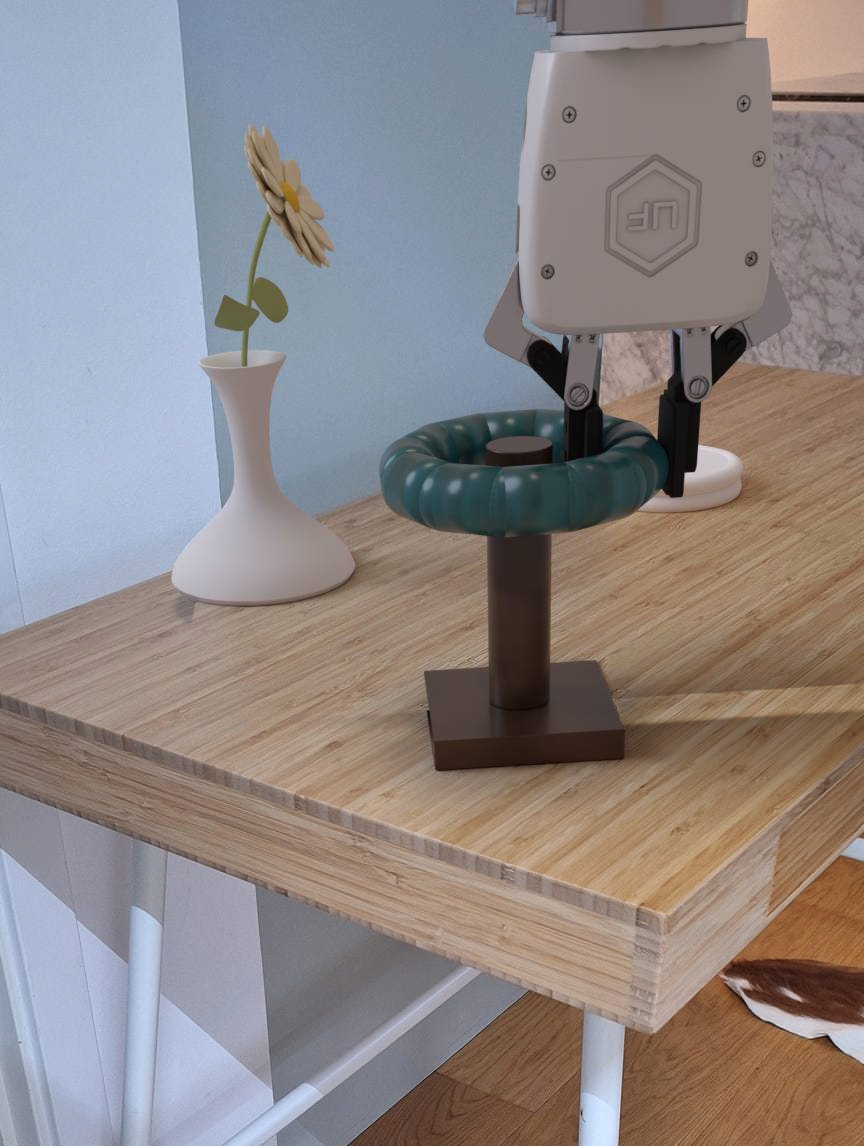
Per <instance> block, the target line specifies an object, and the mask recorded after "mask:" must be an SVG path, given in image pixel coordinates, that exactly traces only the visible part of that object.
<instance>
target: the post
mask: <svg viewBox="0 0 864 1146" xmlns="http://www.w3.org/2000/svg"><path fill="white" fill-rule="evenodd" d="M539 464H553V443H552V442H551V441H550V440H548V439H545V438H541V437H533V436H515V437H506V438H500V439H497V440H493V441H491V442H489V443H488V444H487V445H486V466H497V467H511V466H525V465H539ZM552 542H553V534H543V535H529V536H515V537H492V536H486V562H487V563H486V576H487V577H486V578H487V581H486V582H487V642H488V643H487V645H488V647H487V651H488V653H487V655H488V657H487V659H488V663H487V664H488V666H480V667H478V666H477V667H465V668H464V667H463V668H451V669H450V668H447V669H446V668H445V669H433V670H431V669H430V670H423V678H424V684H425V691H426V698H427V706H428V709H426V715H427V716H426V717H427V721H428V722H427V723H428V730H429V737H430V745H431V750H432V751H431V752H432V758H433V764H434V770H435V771H445V770H461V769H473V768H474V769H475V768H476V769H477V768H478V769H479V768H491V767H508V766H509V767H510V766H525V765H538V764H539V765H540V764H541V765H542V764H556V763H569V762H570V763H571V762H573V763H574V762H587V761H602V760H603V761H604V760H619V759H624V757H625V740H626V739H625V737H626V736H625V735H626V729H625V726H624V724H623V722H622V719H621V716H620V715H619V712H618V710H617V707H616V704H615V703H614V700H613V697H612V695H611V693H610V690H609V687H608V686H607V683H606V680H605V678H604V676H603V674H602V671H601V669H600V666H599V664H598V661H597V659H591V660H590V659H589V660H588V659H587V660H574V661H557V662H556V661H555V662H551V640H552V639H551V633H552V632H551V631H552V630H551V628H552V623H551V622H552V555H553V554H552V552H553V549H552V548H553V547H552V546H553V543H552Z"/></svg>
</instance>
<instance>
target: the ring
mask: <svg viewBox="0 0 864 1146" xmlns="http://www.w3.org/2000/svg"><path fill="white" fill-rule="evenodd" d="M515 436H533V437H541V438H545V439H548V440H550V441H551V442H552V443H553V464H539V465H525V466H511V467H497V466H486V445H487V444H488V443H489V442H491V441H493V440H497V439H500V438H506V437H515ZM563 445H564V409H548V408H531V409H519V410H517V409H516V410H504V411H503V410H502V411H491V412H478V413H473V414H469V415H464V416H460V417H459V416H458V417H455V418H450V419H445V420H441V421H435V422H431V423H427V424H425V425H423V426H421V427H419V428H417V429H415V430H413V431H411V432H409V433H407V434H406V435H404V436H402V437H400V438H398V439H396V440H395V441H393V442H391V443H390V445H388V446H387V447H386V448H385V450H384V452H383V453H382V454H381V455H382V456H381V457H380V461H379V467H378V473H379V481H380V489H381V495H382V498H383V500H384V502H385V504H386V505H387V507H388V508H389V509H390V510H391V512H392V513H394V514H395V515H397V516H399V517H401V518H404V519H406V520H409V521H411V522H414V523H416V524H419V525H422V526H424V527H426V528H428V529H432V530H433V531H434V530H435V531H437V532H442V533H452V534H460V535H461V534H462V535H471V536H473V535H474V536H482V537H487V536H492V537H515V536H529V535H543V534H552V535H554V534H555V535H556V534H567V533H568V534H569V533H574V532H579V531H582V530H585V529H589V528H593V527H596V526H600V525H604V524H609V523H612V522H615V521H620V520H622V519H625V518H627V517H630V516H632V515H633V514H635V513H636V512H638V511H637V510H638V509H639V508H640V507H642V506H643V505H644V504H645V503H647V502H648V501H649V500H650V499H652V498H653V497H654V496H655V495H657V494H658V493H659V491H660V490H661V489H662V488H663V486H664V484H665V482H666V480H667V477H668V471H669V462H668V458H667V455H666V452H665V450H664V449H663V447H662V446H661V445H660V443H659V442H658V441H657V437H656V436H655V435H654V434H653V433H652V432H651V431H650V429H648V428H647V427H646V426H645V425H643V424H641V423H640V422H637V421H632V420H629V419H625V418H621V417H617V416H613V415H609V414H606V413H603V441H602V454H598V455H594V456H589V457H585V458H581V459H577V460H573V461H568V462H564V463H563Z"/></svg>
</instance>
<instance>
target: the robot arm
mask: <svg viewBox="0 0 864 1146" xmlns="http://www.w3.org/2000/svg"><path fill="white" fill-rule="evenodd" d="M748 10H749V0H513V12H514V15H515V16H518V15H532V17H533V18H542V22H543V23H547V32H548V33H553V34H551V35H550V49H543V50H537V51H534V55H533V61H532V66H531V70H530V76H529V83H528V89H527V95H526V103H525V111H524V112H525V113H524V122H523V129H522V130H523V131H522V137H521V138H522V139H521V148H520V159H519V160H520V161H519V174H518V187H517V188H518V189H517V190H518V191H517V193H518V194H517V206H516V207H517V208H516V209H517V210H516V230H515V231H516V232H515V255H514V257H513V259H512V262H511V263H510V265H509V268H508V270H507V272H506V274H505V276H504V278H503V280H502V283H501V285H500V287H499V289H498V292H497V293H496V295H495V298H494V299H493V302H492V304H491V305H490V308H489V310H488V312H487V314H486V317H485V318H484V320H483V323H482V325H481V335H482V338H483V339H484V342H485V344H486V345H488V346H489V347H490V348H492V349H494V350H496V351H497V352H500V353H501V354H504V355H506V356H507V357H509V358H511V359H513V360H515V361H516V362H518V363H521V364H523V365H525V366H527V367H529V368H531V369H532V370H533V371H534V372H535V373H536V374H537V375H538V376H539V377H540V378H541V379H542V381H544V383H545V384H546V385H548V387H549V388H550V389H552V391H553V392H554V393H555V394H556V395H557V396H558V397H559V398H560V399H561V401H563V406H564V407H563V410H564V445H563V463H564V462H568V461H573V460H577V459H581V458H585V457H589V456H594V455H598V454H602V441H603V414H604V411H603V409H602V408H601V407H600V404H598V392H597V390H596V389H595V388H594V382H595V376H596V375H595V374H596V368H597V360H598V351H599V344H600V337H601V335H603V334H620V333H636V332H637V333H638V332H652V331H667V330H668V331H669V334H670V335H669V336H670V337H669V338H670V358H671V359H670V361H671V362H670V363H671V376H670V377H669V378H668V379H667V386H666V387H667V388H665V389H663V394H660V395H659V398H658V399H659V400H658V415H657V416H658V417H657V435H656V440H657V441H658V442H659V443H660V445H661V446H662V447H663V449H664V450H665V452H666V455H667V458H668V462H669V471H668V477H667V480H666V482H665V484H664V486H663V488H662V490H663V491H664V493H665V494H666V495H669V497H670V498H679V497H683V493H684V479H685V473H691V472H695V471H696V467H697V458H698V445H699V442H700V426H701V412H702V411H701V410H702V402H704V401H705V400H706V399H707V398H708V397H709V396H710V394H711V393H712V390H713V387H714V386H715V385H716V384H717V382H718V381H719V380H720V379H721V378H723V376H724V375H725V374H726V373H727V372H728V371H729V370H730V369H731V368H732V367H733V366H734V365H735V363H736V362H737V361H739V360H740V358H741V357H742V356H743V355H744V354H745V352H747V351H748V350H750V349H751V348H755V347H757V346H758V345H759V344H761V343H763V342H764V341H766V340H768V339H769V338H770V337H772V336H774V335H775V334H777V333H779V332H780V331H782V330H783V329H785V328H786V327H787V326H788V325H789V324H790V322H791V321H792V316H793V313H792V309H791V306H790V304H789V301H788V299H787V296H786V294H785V291H784V289H783V287H782V284H781V282H780V279H779V276H778V275H777V272H776V270H775V266H774V265H773V262H772V260H771V254H772V253H771V251H772V229H773V189H774V188H773V186H774V185H773V184H774V125H773V124H774V121H773V119H774V117H773V113H774V112H773V91H772V89H773V87H772V72H771V71H772V70H771V62H770V61H771V60H770V52H769V43H768V38H767V37H747V25H748V24H747V22H748V14H749V13H748V12H749V11H748ZM524 315H525V317H526V318H528V320H529V321H530V323H531V324H532V325H534V326H535V327H536V328H538V329H539V330H542V331H544V332H547V333H549V334H555V335H559V336H560V335H561V339H560V349H558V348H557V347H556V346H555V345H554V344H553V343H552V342H551V341H550V340H549V338H547V337H545V336H543V335H540V334H539V333H536V332H535V331H533V330H531V329H530V328H528V327H526V326H525V325H524V324H523V317H524ZM712 327H716V328H714V330H713V331H712V332H711V328H712Z"/></svg>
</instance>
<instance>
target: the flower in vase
mask: <svg viewBox="0 0 864 1146" xmlns="http://www.w3.org/2000/svg"><path fill="white" fill-rule="evenodd" d="M247 128H248V129H247V130H248V132H245V133H244V142H245V145H244V146H243V149H244V153H245V156H246V158H247V161H248V162H247V166H248V169H249V172H250V174H251V176H252V178H253V180H254V181H255V186H256V188H257V190H258V192H259V194H260V197H261V198H262V200H263V201H264V203H266V213H265V215H264V218H263V221H262V223H261V225H260V226H261V227H260V229H259V232H258V236H257V239H256V243H255V245H254V249H253V252H252V256H251V261H250V265H249V272H248V280H247V290H246V296H245V297H246V298H245V304H244V303H241V302H239V301H237V300H235V299H233V298H232V297H230V296H229V295H227V294H223V297H222V299H221V302H220V306H219V308H218V311H217V314H216V317H215V319H214V321H213V324H214V326H215V327H217V328H220V329H225V330H230V331H234V332H242V337H241V350H233V351H226V352H219V353H215V354H211V355H208V356H204V357H203V358H201V359H199V360H198V365H199V367H200V369H202V371H203V372H204V373H205V374H206V376H207V377H208V378H209V380H210V381H211V383H212V384H213V386H214V388H215V390H216V392H217V394H218V396H219V399H220V401H221V404H222V407H223V411H224V413H225V417H226V422H227V426H228V431H229V435H230V442H231V449H232V458H233V486H232V489H231V493H230V496H229V498H228V499H227V500H226V503H225V504H224V506H222V508H220V510H219V511H218V512H217V513H216V514H215V515H214V516H213V517H212V518H211V520H209V521H208V522H207V523H206V524H205V525H204V527H202V528H201V529H200V531H198V532H197V534H196V535H195V536H194V537H193V538H192V539H191V540H190V541H189V542H188V543H187V544H186V546H185V547H184V548H183V550H182V552H180V554H179V556H178V557H177V558H176V560H175V562H174V564H173V568H172V572H171V576H170V577H171V583H172V585H173V586H174V587H175V588H176V590H177V591H178V593H180V595H181V596H182V597H183V598H185V599H186V600H188V601H191V602H193V603H197V602H201V603H206V604H212V605H217V606H230V607H231V606H233V607H256V606H257V607H258V606H269V605H278V604H286V603H292V602H298V601H302V600H306V599H310V598H314V597H317V596H320V595H323V594H325V593H328V592H331V591H333V590H335V589H337V588H339V587H340V586H342V585H343V584H345V583H346V582H347V581H348V580H349V579H350V578H351V576H352V575H353V573H354V571H355V568H356V562H355V560H354V557H353V556H352V553H351V551H350V549H349V547H348V546H347V545H346V544H345V543H344V542H343V541H342V540H341V539H340V538H339V537H338V536H337V535H336V534H335V533H334V532H333V531H331V530H330V529H329V528H328V527H326V526H325V525H323V524H322V523H321V522H319V521H318V520H317V519H315V518H314V517H312V516H310V515H309V514H308V513H307V512H306V511H303V510H302V509H301V508H300V507H298V506H297V505H296V504H294V503H293V502H292V501H291V500H290V499H288V498H287V497H286V495H285V494H284V493H283V492H282V491H281V489H280V487H279V485H278V483H277V481H276V477H275V473H274V470H273V462H272V454H271V440H270V439H271V438H270V415H271V414H270V413H271V405H272V403H271V402H272V394H273V391H274V387H275V384H276V383H275V382H276V380H277V377H278V375H279V372H280V370H281V368H282V367H283V365H284V363H285V361H286V359H287V355H286V354H285V353H284V352H281V351H276V350H270V349H269V350H268V349H249V334H250V328H251V327H252V326H253V325H254V324H255V322H256V321H257V319H258V318H259V316H260V314H261V313H262V314H263V316H265V317H266V318H267V319H268V321H271V322H272V323H274V324H278V323H281V322H282V321H284V320H285V318H286V317H287V316H288V313H289V304H288V302H287V299H286V297H285V295H284V292H283V291H282V290H281V288H280V287H279V286H278V285H276V284H275V283H274V282H273V281H271V280H270V279H268V278H266V277H263V276H258V277H257V278H256V279H255V277H256V270H257V266H258V261H259V258H260V254H261V251H262V247H263V245H264V240H265V238H266V234H267V231H268V229H269V226H270V224H271V221H273V222H274V223H275V225H276V226H277V227H278V229H279V231H280V232H281V234H282V235H283V236H284V238H285V239H286V240H287V241H288V242H289V244H290V246H291V247H292V249H293V250H294V252H295V253H296V254H297V255H298V256H299V257H300V258H304V259H305V260H306V262H308V264H310V265H311V266H314V265H315V266H316V267H317V268H319V269H323V266H324V267H326V268H330V262H329V260H328V259H327V257H326V255H325V251H326V250H327V251H329V252H332V253H333V252H335V246H334V244H333V242H332V240H331V239H330V238H329V235H328V232H327V231H326V230H325V228H324V227H323V226H322V225H320V224H319V222H317V221H321V220H322V221H323V220H324V218H325V212H324V210H323V207H321V206H322V205H320V204H319V202H317V201H316V200H315V199H312V196H311V193H310V191H309V189H308V188H307V187H306V186H305V185H304V184H301V182H302V181H301V180H302V171H301V169H300V167H299V164H298V163H297V162H296V160H295V159H293V158H289V159H288V160H287V161H286V162H285V161H283V160H281V155H280V151H279V147H278V144H277V142H276V141H275V139H274V137H273V134H272V132H271V130H270V129H269V128H268V126H266V125H263V127H262V129H261V130H262V131H261V132H262V133H261V134H259V133H258V131H257V128H256V127H255V125H253V124H252V123H249V124H248V127H247ZM253 302H254V303H255V305H256V307H257V309H256V308H254V307H252V303H253ZM258 309H259V310H258Z"/></svg>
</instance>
